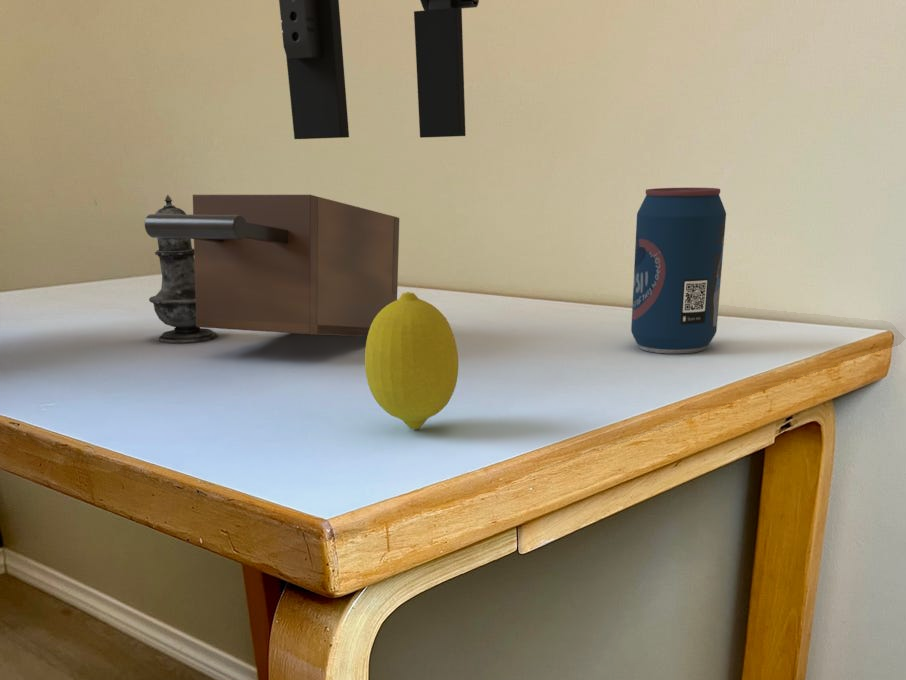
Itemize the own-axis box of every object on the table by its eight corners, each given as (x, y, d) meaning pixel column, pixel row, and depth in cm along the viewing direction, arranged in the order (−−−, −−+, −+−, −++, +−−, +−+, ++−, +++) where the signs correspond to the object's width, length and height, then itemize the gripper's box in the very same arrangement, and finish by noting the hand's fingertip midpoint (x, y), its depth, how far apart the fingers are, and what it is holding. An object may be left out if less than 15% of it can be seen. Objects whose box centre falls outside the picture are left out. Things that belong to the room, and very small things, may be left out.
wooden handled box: (293, 331, 95) (293, 216, 92) (396, 337, 90) (399, 217, 87) (132, 324, 76) (126, 179, 73) (253, 331, 72) (251, 179, 69)
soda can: (617, 342, 86) (624, 188, 80) (692, 337, 87) (703, 186, 82) (651, 357, 80) (660, 192, 74) (730, 351, 81) (745, 189, 76)
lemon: (477, 424, 62) (474, 288, 59) (424, 446, 58) (417, 301, 55) (406, 414, 65) (399, 283, 61) (351, 434, 61) (339, 295, 57)
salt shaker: (179, 331, 96) (159, 193, 90) (233, 333, 94) (215, 193, 89) (141, 342, 91) (117, 197, 86) (197, 344, 89) (176, 196, 84)
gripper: (265, -564, 34) (325, 136, 44) (533, -306, 54) (534, 134, 64) (95, -504, 37) (186, 141, 46) (410, -280, 57) (429, 138, 67)
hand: (388, 138), depth 55 cm, fingers open, 13 cm apart
